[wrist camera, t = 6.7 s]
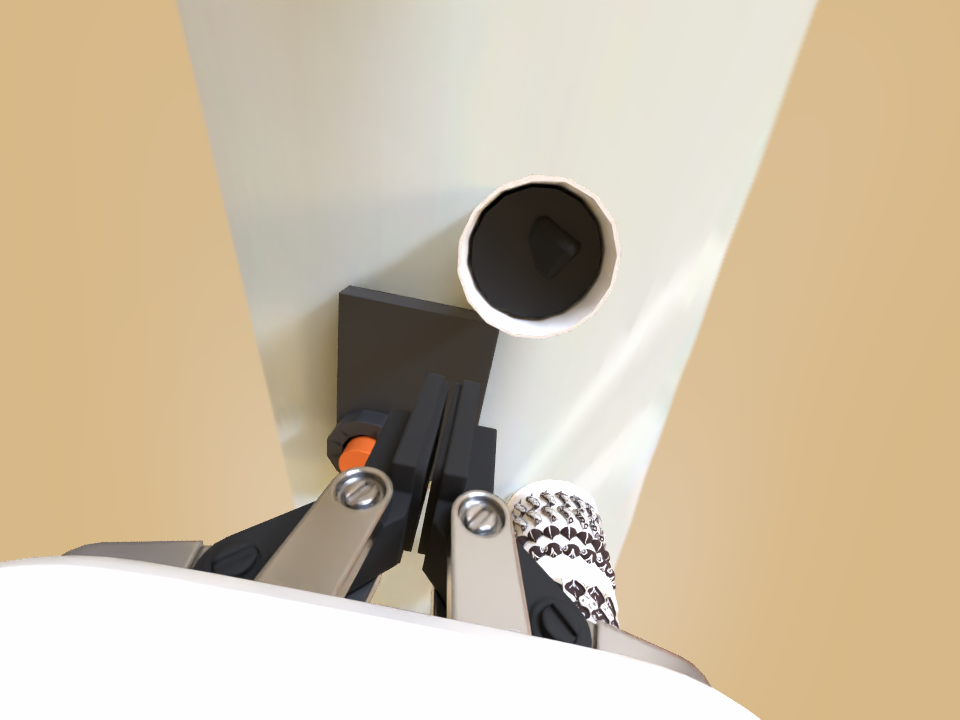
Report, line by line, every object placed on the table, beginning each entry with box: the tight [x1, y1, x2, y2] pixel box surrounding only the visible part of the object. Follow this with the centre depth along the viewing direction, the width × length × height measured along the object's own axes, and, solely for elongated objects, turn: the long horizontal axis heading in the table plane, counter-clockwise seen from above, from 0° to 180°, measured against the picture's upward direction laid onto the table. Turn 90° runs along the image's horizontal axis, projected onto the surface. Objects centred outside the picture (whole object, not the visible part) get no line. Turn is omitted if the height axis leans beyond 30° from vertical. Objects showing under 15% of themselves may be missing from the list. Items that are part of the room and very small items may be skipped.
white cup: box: [457, 175, 621, 339], centre depth 20 cm, size 7×7×10 cm
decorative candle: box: [507, 480, 620, 629], centre depth 24 cm, size 9×9×25 cm
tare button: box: [339, 436, 377, 472], centre depth 29 cm, size 3×3×2 cm
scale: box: [327, 286, 499, 481], centre depth 29 cm, size 15×11×4 cm
